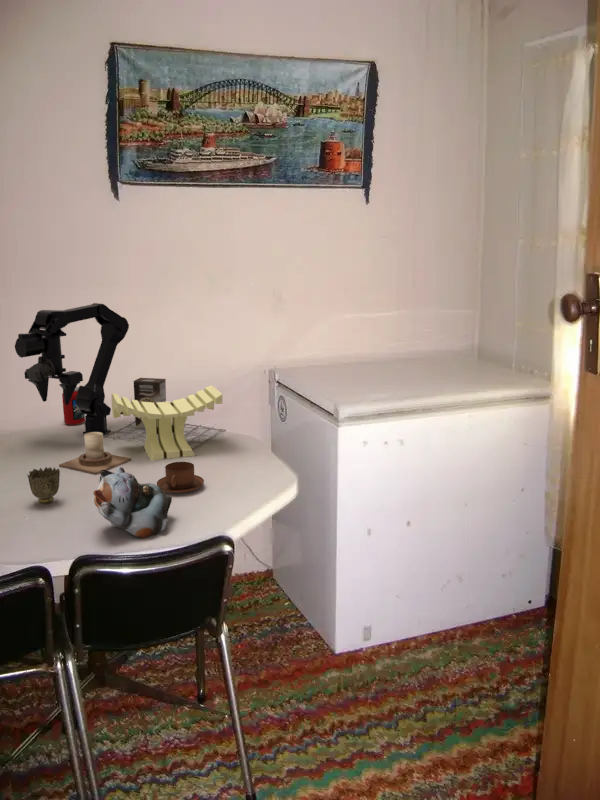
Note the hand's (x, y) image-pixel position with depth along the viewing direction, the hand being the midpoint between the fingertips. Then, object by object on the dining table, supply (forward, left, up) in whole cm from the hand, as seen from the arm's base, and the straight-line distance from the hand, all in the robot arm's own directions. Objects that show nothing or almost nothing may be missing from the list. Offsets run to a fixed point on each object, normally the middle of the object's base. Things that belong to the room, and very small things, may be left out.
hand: (55, 403), depth 228 cm
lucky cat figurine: (+38, +64, -13) cm, 75 cm away
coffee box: (-29, +12, -13) cm, 34 cm away
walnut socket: (+9, +24, -13) cm, 28 cm away
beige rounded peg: (+9, +24, -12) cm, 28 cm away
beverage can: (-19, -13, -13) cm, 27 cm away
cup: (+37, +35, -13) cm, 52 cm away
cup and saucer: (+13, +57, -13) cm, 60 cm away
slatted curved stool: (-11, +34, -13) cm, 38 cm away
